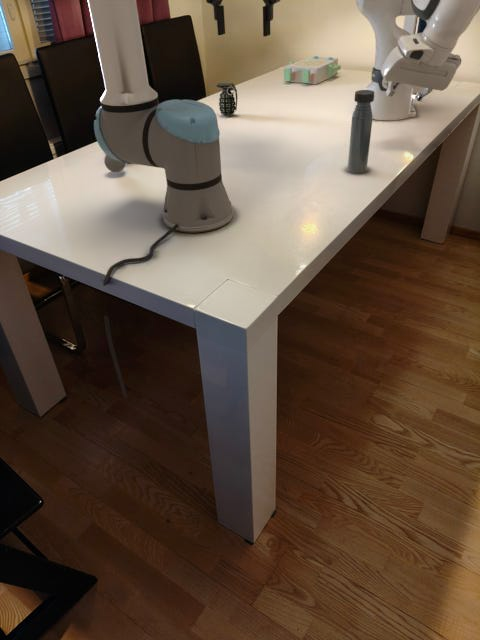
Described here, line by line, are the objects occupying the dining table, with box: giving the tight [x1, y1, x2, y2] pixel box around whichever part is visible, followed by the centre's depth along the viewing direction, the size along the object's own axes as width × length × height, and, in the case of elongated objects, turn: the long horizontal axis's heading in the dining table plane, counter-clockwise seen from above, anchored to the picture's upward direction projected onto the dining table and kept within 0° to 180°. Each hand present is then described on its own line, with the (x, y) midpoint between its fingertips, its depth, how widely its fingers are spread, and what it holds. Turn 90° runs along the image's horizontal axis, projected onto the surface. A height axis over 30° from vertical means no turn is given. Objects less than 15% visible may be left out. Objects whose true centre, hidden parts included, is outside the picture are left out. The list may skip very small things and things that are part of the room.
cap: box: [354, 89, 374, 103], centre depth 114 cm, size 4×4×2 cm
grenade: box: [215, 82, 238, 117], centre depth 166 cm, size 7×6×10 cm
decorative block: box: [283, 55, 342, 85], centre depth 206 cm, size 26×6×20 cm
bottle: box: [347, 102, 374, 175], centre depth 119 cm, size 5×5×18 cm
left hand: (243, 35), depth 129 cm, fingers open, 13 cm apart
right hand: (402, 97), depth 135 cm, fingers open, 8 cm apart
